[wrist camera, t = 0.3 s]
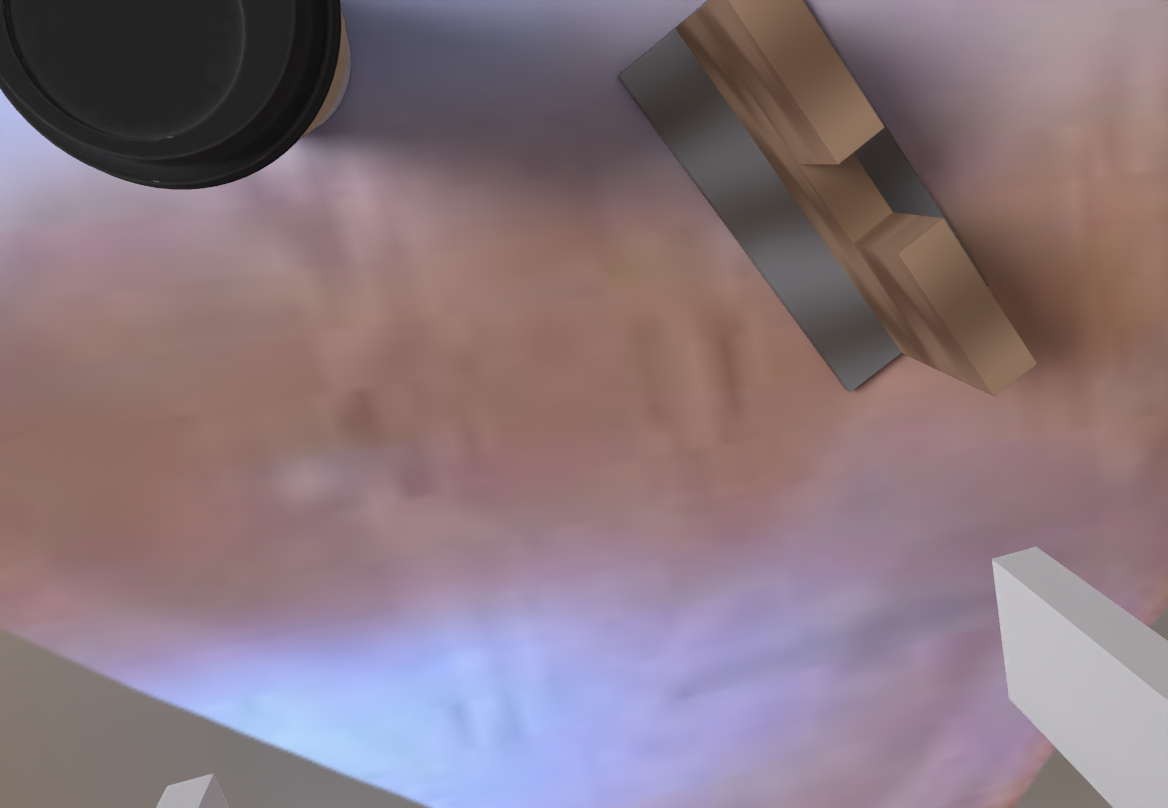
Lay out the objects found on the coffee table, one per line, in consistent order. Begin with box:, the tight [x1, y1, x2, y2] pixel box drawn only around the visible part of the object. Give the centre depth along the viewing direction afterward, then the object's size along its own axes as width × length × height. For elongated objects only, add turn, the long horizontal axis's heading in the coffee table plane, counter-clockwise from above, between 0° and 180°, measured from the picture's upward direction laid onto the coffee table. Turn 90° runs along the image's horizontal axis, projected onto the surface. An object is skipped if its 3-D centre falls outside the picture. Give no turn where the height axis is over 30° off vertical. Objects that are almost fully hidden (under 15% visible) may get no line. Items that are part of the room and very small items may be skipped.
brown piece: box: [617, 0, 1037, 396], centre depth 35 cm, size 18×8×9 cm, turn 39°
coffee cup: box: [0, 0, 351, 189], centre depth 29 cm, size 9×9×15 cm
